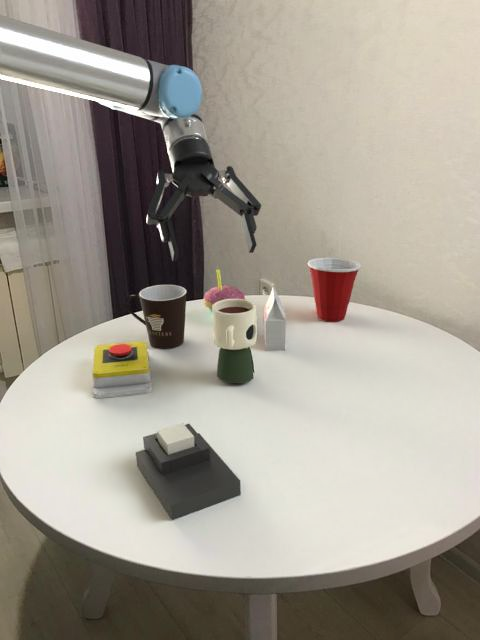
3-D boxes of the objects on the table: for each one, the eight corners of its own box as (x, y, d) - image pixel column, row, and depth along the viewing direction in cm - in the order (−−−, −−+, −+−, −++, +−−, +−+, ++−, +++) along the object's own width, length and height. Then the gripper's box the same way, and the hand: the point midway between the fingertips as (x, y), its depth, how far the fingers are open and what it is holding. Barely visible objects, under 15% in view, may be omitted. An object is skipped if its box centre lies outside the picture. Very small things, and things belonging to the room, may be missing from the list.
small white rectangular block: (157, 441, 76) (156, 430, 75) (183, 434, 77) (182, 422, 77) (168, 456, 73) (167, 444, 72) (194, 447, 75) (194, 436, 74)
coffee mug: (198, 341, 112) (196, 292, 108) (162, 356, 107) (158, 304, 102) (161, 325, 120) (157, 278, 115) (125, 337, 114) (120, 289, 110)
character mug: (252, 395, 94) (252, 320, 88) (208, 393, 94) (205, 318, 89) (260, 364, 103) (260, 295, 98) (220, 362, 104) (218, 293, 99)
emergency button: (146, 331, 106) (150, 368, 93) (148, 352, 108) (152, 392, 95) (93, 335, 104) (89, 374, 91) (96, 357, 106) (93, 398, 93)
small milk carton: (283, 335, 115) (283, 286, 111) (285, 350, 109) (286, 299, 105) (264, 335, 115) (264, 286, 111) (265, 350, 109) (265, 299, 104)
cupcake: (230, 330, 117) (229, 272, 112) (195, 322, 121) (192, 266, 116) (252, 316, 124) (252, 261, 119) (219, 309, 127) (217, 255, 122)
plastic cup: (363, 312, 126) (367, 257, 121) (349, 330, 117) (353, 272, 112) (315, 304, 130) (317, 251, 125) (298, 321, 121) (299, 265, 116)
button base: (136, 465, 77) (133, 439, 76) (199, 445, 81) (197, 420, 80) (171, 520, 68) (169, 493, 66) (240, 495, 72) (240, 468, 70)
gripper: (119, 138, 99) (142, 249, 93) (258, 133, 107) (289, 234, 100) (118, 167, 106) (140, 271, 100) (249, 159, 113) (277, 256, 107)
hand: (215, 253), depth 100 cm, fingers open, 13 cm apart
